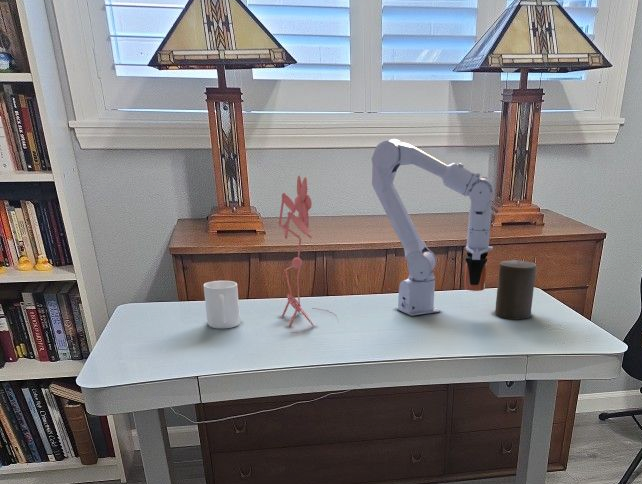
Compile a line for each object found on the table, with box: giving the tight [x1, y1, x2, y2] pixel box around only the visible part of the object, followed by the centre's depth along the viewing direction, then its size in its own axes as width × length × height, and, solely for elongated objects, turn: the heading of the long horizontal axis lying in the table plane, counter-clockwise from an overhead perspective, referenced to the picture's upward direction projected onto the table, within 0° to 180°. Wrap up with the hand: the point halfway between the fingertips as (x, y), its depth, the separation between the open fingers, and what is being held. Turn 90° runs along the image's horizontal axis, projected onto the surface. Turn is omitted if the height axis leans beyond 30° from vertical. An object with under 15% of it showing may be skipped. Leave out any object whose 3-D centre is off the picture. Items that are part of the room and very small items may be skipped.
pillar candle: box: [494, 258, 537, 320], centre depth 188 cm, size 10×10×15 cm
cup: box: [203, 280, 241, 330], centre depth 176 cm, size 8×12×10 cm
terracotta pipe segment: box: [463, 262, 488, 292], centre depth 187 cm, size 5×6×6 cm
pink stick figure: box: [278, 175, 339, 334], centre depth 176 cm, size 15×26×35 cm, turn 19°
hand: (474, 282), depth 187 cm, fingers closed on terracotta pipe segment, 5 cm apart
